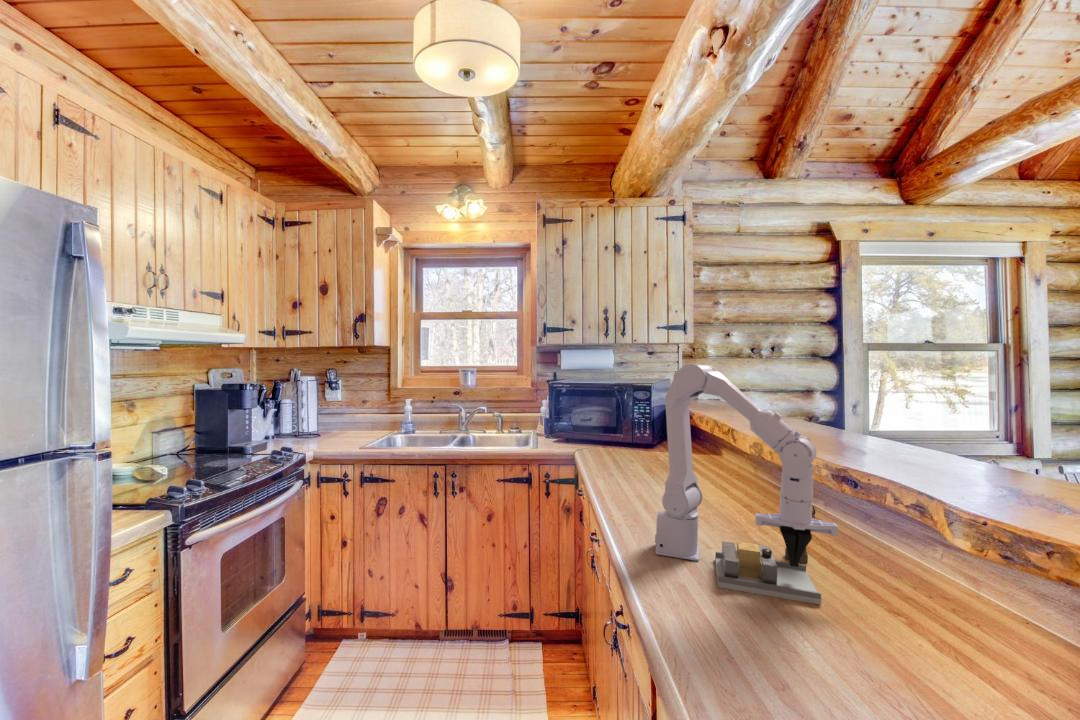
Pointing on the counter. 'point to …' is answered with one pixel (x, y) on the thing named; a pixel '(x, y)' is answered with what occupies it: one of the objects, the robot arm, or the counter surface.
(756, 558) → the block
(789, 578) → the board
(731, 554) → the fixed jaw
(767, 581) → the bar
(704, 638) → the counter surface
